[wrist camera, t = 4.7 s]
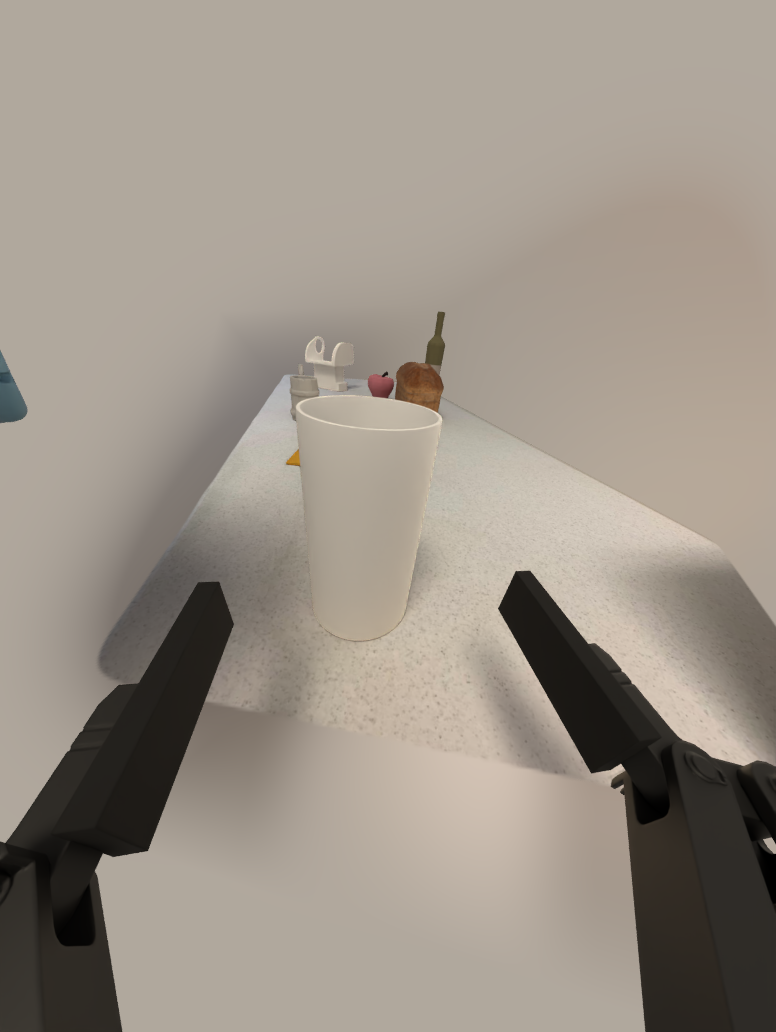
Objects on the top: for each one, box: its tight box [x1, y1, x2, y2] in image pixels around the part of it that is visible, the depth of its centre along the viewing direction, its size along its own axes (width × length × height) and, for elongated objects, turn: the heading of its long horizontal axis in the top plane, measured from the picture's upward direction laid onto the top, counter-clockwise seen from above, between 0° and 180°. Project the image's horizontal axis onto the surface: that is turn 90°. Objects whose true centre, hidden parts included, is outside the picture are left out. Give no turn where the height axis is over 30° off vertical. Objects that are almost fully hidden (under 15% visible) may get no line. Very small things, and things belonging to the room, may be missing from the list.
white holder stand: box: [305, 336, 354, 392], centre depth 110 cm, size 14×13×18 cm
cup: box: [296, 395, 442, 641], centre depth 20 cm, size 8×8×16 cm
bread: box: [395, 362, 444, 413], centre depth 87 cm, size 12×28×14 cm, turn 4°
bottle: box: [425, 312, 445, 375], centre depth 112 cm, size 7×7×30 cm
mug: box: [290, 365, 319, 420], centre depth 70 cm, size 8×12×12 cm, turn 21°
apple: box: [368, 372, 394, 398], centre depth 99 cm, size 10×9×10 cm
